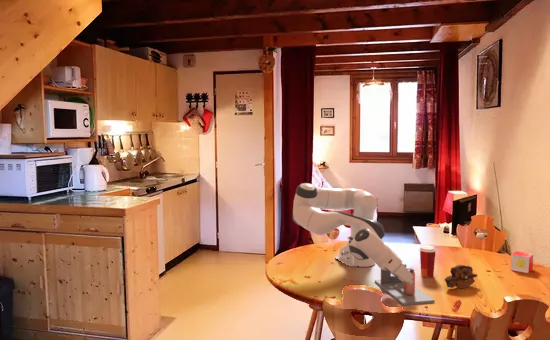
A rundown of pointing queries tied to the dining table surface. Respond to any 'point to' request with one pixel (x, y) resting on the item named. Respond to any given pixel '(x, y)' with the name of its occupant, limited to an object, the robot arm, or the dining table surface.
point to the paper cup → (427, 260)
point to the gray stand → (401, 290)
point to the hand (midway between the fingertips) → (407, 280)
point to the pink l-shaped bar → (408, 288)
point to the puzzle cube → (521, 262)
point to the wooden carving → (460, 277)
